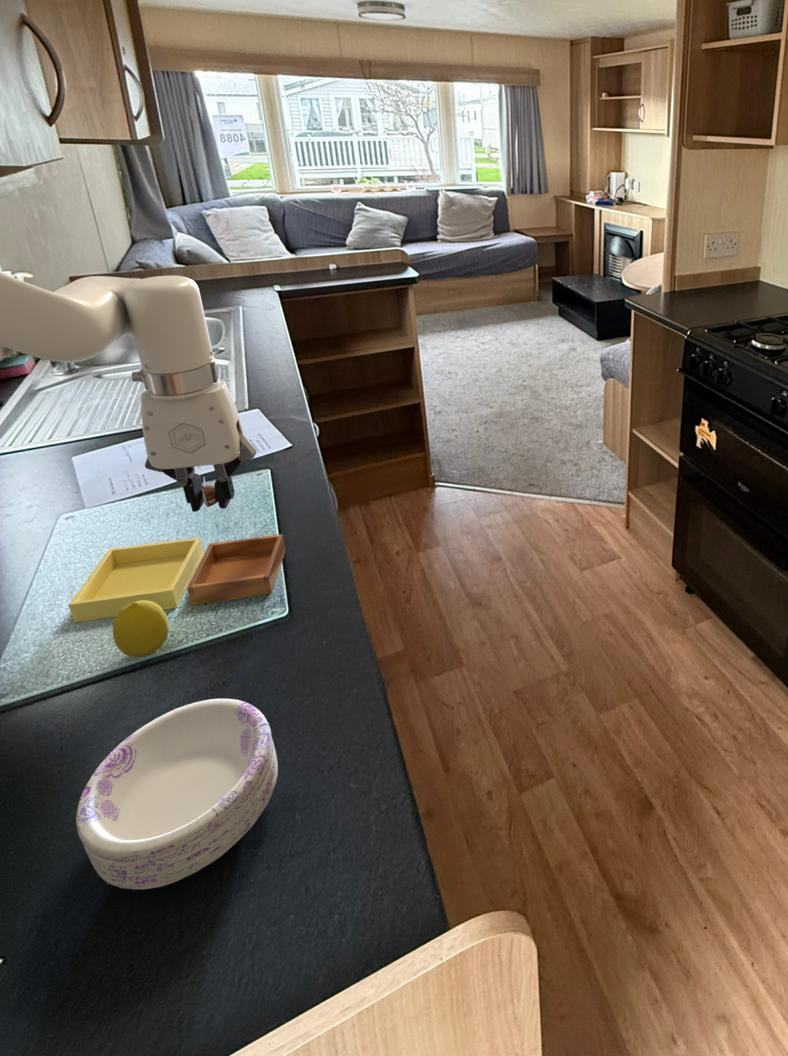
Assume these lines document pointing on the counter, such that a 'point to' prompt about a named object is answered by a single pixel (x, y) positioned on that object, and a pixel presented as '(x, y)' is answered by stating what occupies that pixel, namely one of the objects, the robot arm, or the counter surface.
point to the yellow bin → (138, 578)
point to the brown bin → (237, 569)
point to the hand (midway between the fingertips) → (212, 503)
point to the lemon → (140, 628)
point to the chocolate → (209, 494)
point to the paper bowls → (177, 793)
